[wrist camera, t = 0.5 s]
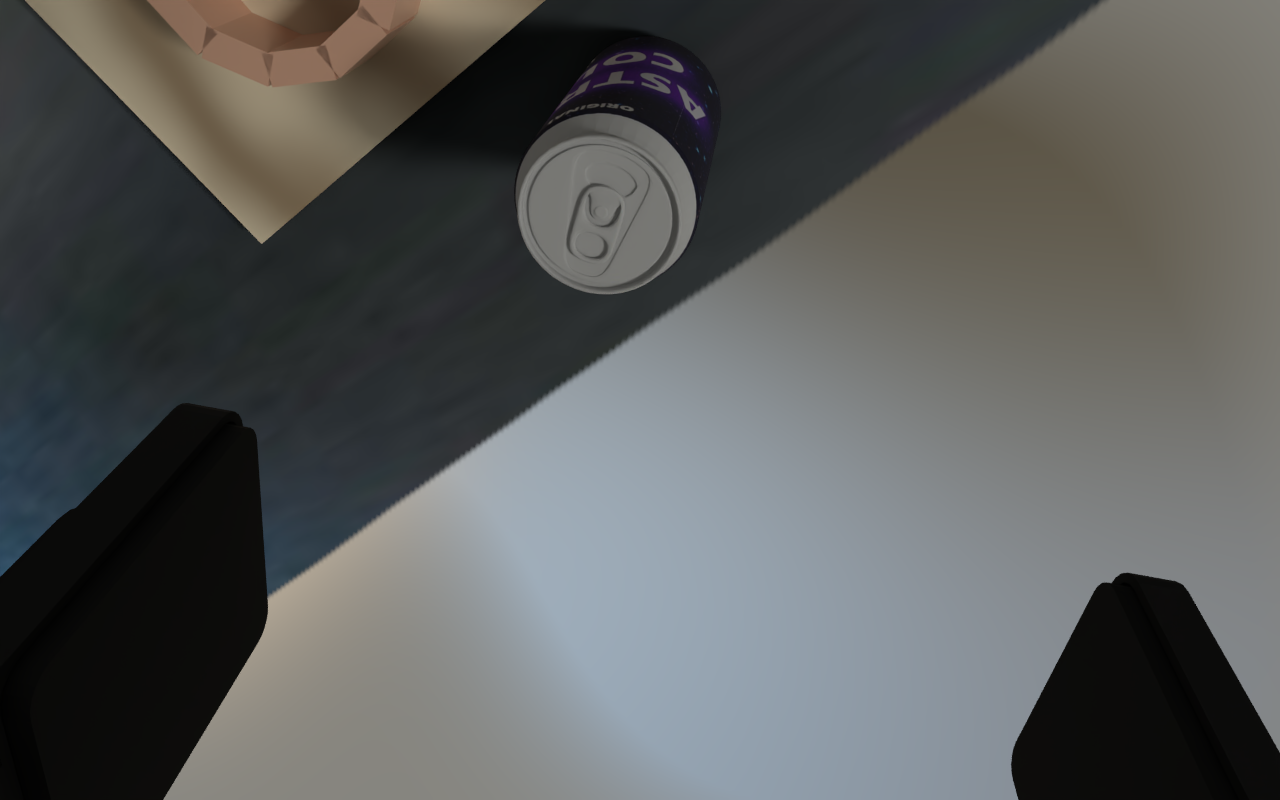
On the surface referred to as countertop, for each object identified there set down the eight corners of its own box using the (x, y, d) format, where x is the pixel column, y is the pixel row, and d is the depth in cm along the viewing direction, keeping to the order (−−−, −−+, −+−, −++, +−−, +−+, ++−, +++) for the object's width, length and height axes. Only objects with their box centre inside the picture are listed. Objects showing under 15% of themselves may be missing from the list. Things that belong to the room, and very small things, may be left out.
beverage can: (743, 60, 37) (723, 161, 27) (695, 194, 40) (661, 330, 30) (601, 9, 37) (528, 93, 27) (563, 149, 40) (485, 271, 30)
